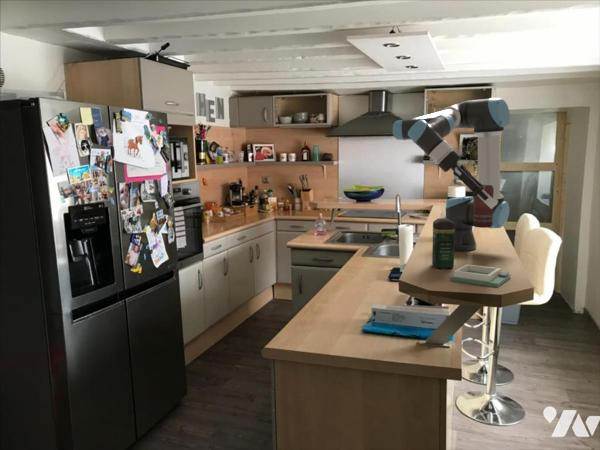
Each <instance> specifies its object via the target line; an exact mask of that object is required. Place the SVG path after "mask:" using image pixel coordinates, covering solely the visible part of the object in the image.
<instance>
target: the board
mask: <svg viewBox="0 0 600 450" xmlns="http://www.w3.org/2000/svg"><path fill="white" fill-rule="evenodd" d="M453 271H454V272H453V275H450V277H449V280H450V281H453V282H459V283H465V284H466V283H467V284H473V285H479V286H487V287H493V288H499V287H500V286H501V285H503V284H504V283H506V282H507V281H508V280H510V279H511V274H510V273H509V272H506V271H505V272H504V271H502V268H501V267H500V268H499V267H491V266H485V265H484V266H483V265H475V264H464V265H462V266H461V267H459V268H457V269H456V270H453Z"/></svg>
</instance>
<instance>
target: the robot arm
mask: <svg viewBox="0 0 600 450" xmlns="http://www.w3.org/2000/svg"><path fill="white" fill-rule="evenodd" d="M510 114H511V113H510V109H509V106H508V104H507V102H506V100H504V99H503V98H501V97H495V98H494V97H490V98H482V99H472V100H464V101H461V102H458V103H455V104H452V105H449V106H446V107H445V106H444V108H443V109H442V110H439V111H435V112H431V113H428V114H424V115H421V116H416V117H413V118H409V119H404V118H403V119H399V120H396V121H395V122H394V123H393V125H392V135H393V137H394V138H395V139H396V140H398V141H399V140H400V141H401V140H402V141H407V140H409V141H410V140H411V141H413V144H416V145H417V146H418V148H420V149H421V150H422V151H423V152H424V153H425V154H426V156H428V157H429V161H431V162H432V161H433V162H434V163H435V164H438V167H439V168H440V169H441V171H443V172H444V173H447V172H448V171H450V170H452V171H453V175H454V176H455V177H457V178H458V179H459V180H460V181H461V182H462V183H463V184H465V186H466V187H467V188H468V189H469V190H470V191H471V192H472V194H473V195H472V196H461V197H452V198H448V199H447V200H446V202H445V209H444V210H445V218H446V219H448V220H450V221H452V222H454V223H455V240H454V252H467V251H474V250H477V242H476V239H475V235H474V232H473V231H474V230H473V227H475V226H474V225H473V216H474V196H476V195H477V196H478V197H479V198H480V199H481V200H482V201H483V202H484V203H485V204H486V205H487V206H488V207H489V208H490V209H492V208H493V224H492V226H491V227H488V228H487V229H501V228H502V227H504V226H505V224H506V223H507V221H508V218H509V215H510V205H509V202H507V201H506V200H505V198H504V197H505V196H504V194H502V193H501V137H500V136H501V135H502V134H503V132H505V127H507V126H508V125H509V123H510V116H511V115H510ZM454 129H465V130H466V129H473V134H474V135H475V136H476V137H477V176H478V177H477V178H476V177H475V176H474V175H473V174H472V173H471V171H469V170H468V169H467V167H466V166H465V165H464V164H461V165H460V163H458V162H460V160H461V159H462V155H461V154H459V152H458V151H456V149H454V148H453V146H452V145H451V144H450V143H449V142H447V141H446V140H445V139H444V138H446V137H447V136H449V135H450V133H452V131H453V130H454ZM479 185H492V186H493V188H494V194H493V198H492V197H491V196H490V195H489V194H488V193H487V192H486V191H485V190H484V189H483V190H482V188H481V187H480V186H479Z"/></svg>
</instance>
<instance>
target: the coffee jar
mask: <svg viewBox="0 0 600 450" xmlns="http://www.w3.org/2000/svg"><path fill="white" fill-rule="evenodd" d="M454 240H455V223H454V222H452V221H450V220H448V219H446V217H445V218H443V217H442V218H436V219H435V220H433V222H432V251H431V252H432V253H431V255H432V256H431V264H432V266H433V267H434V268H437V269H443V270H447V269H453V268H454V266H455V251H454Z"/></svg>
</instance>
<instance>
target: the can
mask: <svg viewBox="0 0 600 450" xmlns="http://www.w3.org/2000/svg"><path fill="white" fill-rule="evenodd" d="M479 186H480V187H481V188H482V190H483V189H484V190H485V191H486V192H487V193H488V194H489V195H490V196H491V197H492V198H493V194H494V188H493V186H492V185H479ZM473 198H474V216H473V225H474V226H473V227H475V228H482V229H483V228H484V229H486V228H487V229H489V228H488V227H491V226H492V224H493V208H492V209H490V208H489V207H488V206H487V205H486V204H485V203H484V202H483V201H482V200H481V199H480V198H479V197H478V196H477V195H476V196H474V195H473Z"/></svg>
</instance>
